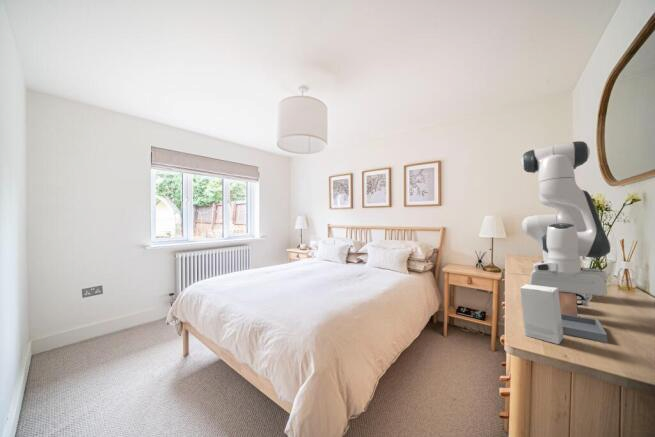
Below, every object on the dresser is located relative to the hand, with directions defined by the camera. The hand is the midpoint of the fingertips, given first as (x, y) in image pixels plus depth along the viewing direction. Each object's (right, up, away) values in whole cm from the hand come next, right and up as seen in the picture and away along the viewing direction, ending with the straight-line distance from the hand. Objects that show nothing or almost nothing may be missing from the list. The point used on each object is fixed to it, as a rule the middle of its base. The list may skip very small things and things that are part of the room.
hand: (566, 303), depth 88 cm
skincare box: (-22, -6, -14) cm, 27 cm away
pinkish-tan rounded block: (+1, -5, 0) cm, 5 cm away
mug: (+7, -5, +8) cm, 12 cm away
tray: (-8, -5, -9) cm, 13 cm away
